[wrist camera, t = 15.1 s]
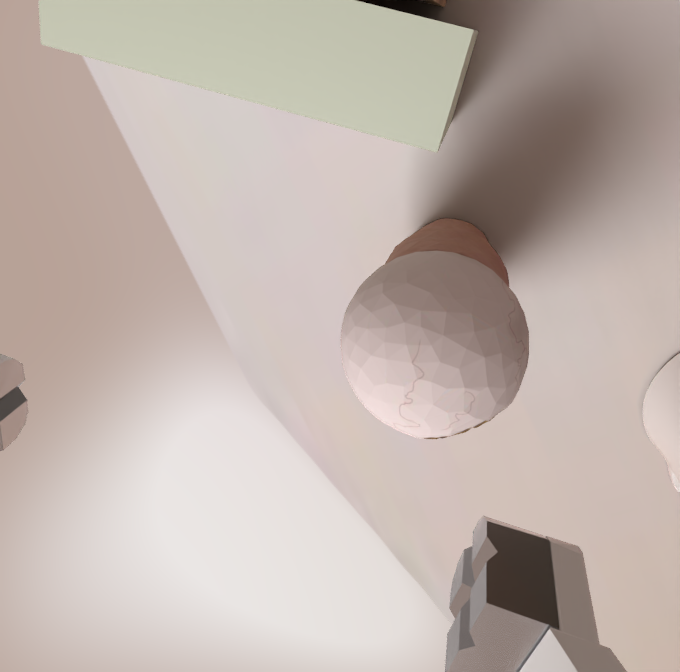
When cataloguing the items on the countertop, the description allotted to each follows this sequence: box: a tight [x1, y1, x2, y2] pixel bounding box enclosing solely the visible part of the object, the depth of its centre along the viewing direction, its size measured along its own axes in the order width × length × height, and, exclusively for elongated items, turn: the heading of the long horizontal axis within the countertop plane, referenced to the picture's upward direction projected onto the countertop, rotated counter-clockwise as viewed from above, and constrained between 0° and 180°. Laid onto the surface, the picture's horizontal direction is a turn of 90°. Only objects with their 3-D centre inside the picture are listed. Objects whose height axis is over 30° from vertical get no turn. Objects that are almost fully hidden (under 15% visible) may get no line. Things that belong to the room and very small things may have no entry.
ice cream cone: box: [341, 218, 529, 439], centre depth 37 cm, size 11×11×20 cm
